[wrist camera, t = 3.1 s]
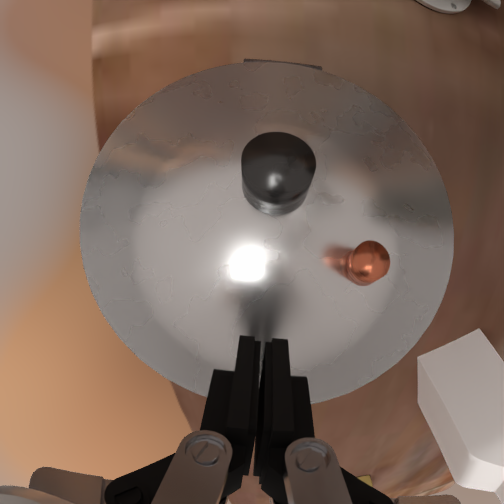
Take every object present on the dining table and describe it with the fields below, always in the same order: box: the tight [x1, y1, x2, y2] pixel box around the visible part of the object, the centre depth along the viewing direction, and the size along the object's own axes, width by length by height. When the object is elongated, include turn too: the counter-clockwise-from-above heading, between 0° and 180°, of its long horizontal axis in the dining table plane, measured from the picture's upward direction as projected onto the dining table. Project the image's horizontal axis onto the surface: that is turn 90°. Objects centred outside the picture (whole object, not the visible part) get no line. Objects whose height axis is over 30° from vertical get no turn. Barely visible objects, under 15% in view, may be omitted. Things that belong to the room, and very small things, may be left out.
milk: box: [417, 329, 504, 504], centre depth 27 cm, size 12×12×26 cm
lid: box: [80, 59, 454, 404], centre depth 13 cm, size 19×20×3 cm
